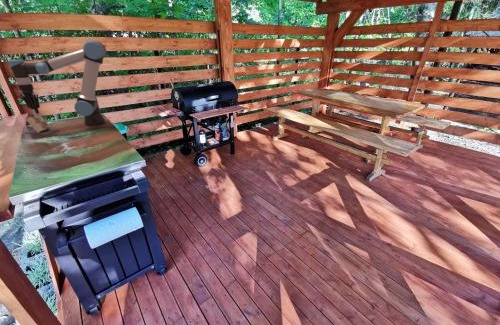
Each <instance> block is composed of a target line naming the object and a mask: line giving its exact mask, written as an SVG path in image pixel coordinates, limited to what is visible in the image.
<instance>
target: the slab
mask: <svg viewBox="0 0 500 325" xmlns="http://www.w3.org/2000/svg"><path fill="white" fill-rule="evenodd" d="M25 120H26V122H27V123H28V124H29V125H30V126H31V127H32V128H33V130H36V131H37V133H40V132H43V131H46V130H49V129H51V128H52V127H51V126H50V124H48V122H47V121H46V120H45V119H44V118H43V116H42V115H41V114H40V118H35V116H34V114H31V115H27V116H26V118H25Z"/></svg>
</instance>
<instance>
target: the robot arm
mask: <svg viewBox="0 0 500 325" xmlns="http://www.w3.org/2000/svg"><path fill="white" fill-rule="evenodd" d="M82 46H83V47H82V48H80V49H77V50H74V51H70V52H68V53H65V54H62V55H59V56H55V57H53V58H50V59H46V60H43V61H37V62H25V61H24V60H23V59H9V60H8V65H9V68H10V70H11V72H12V74H13V77H14V78H15V82H16V84H17V87H18V89H19V91H21V94H20V95H19V96H20V97H21V98H22V100H23V101H24V104H25V105H26V106H27V108H28V109H30V110H31V111H32V113H33V115H34V116H35V118H40V115H41V114H40V112H39V109H40V108H41V107H40V106H41V105H40V101H39V94H36V93H35V92H34V89H35V88H34V85H33V84H32V80H31V77H30V75H48V74H49V73H52V72H54V71H57V70H60V69H63V68H66V67H69V66H73V65H75V64H78V63H81V62H85V63H84V67H83V75H82V80H81V81H82V82H81V89H80V92H79V94H77V97H76V101H75V103H74V108H73V109H74V110H75V112H76V113H77V114H78V115H80V116H83V118H84V121H83V123H84V126H89V127H93V126H99V125H103V124H106V123H107V122H106V119H105V117H104V116H103V115H102V113H101V110H100V105H99V102H98V98H97V96H96V95H95V94H96V87H97V83H98V76H99V72H100V67H101V65H103V62H104V58H105V56H106V54H107V48H106V46H105V45H104V44H103V43H102V42H100V41H97V40H91V39H90V40H87V41H86V42H85V43H84V44H83V45H82Z"/></svg>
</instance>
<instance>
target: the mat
mask: <svg viewBox="0 0 500 325" xmlns="http://www.w3.org/2000/svg"><path fill="white" fill-rule="evenodd" d="M57 132H60V129H51V128H50V129H49V130H46V131H43V132H40V133H37V131H36V130H35V129H32V130H28V131H25V132H24V134H29V135H41V136H42V135H43V136H47V135H52V134H54V133H57Z"/></svg>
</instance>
